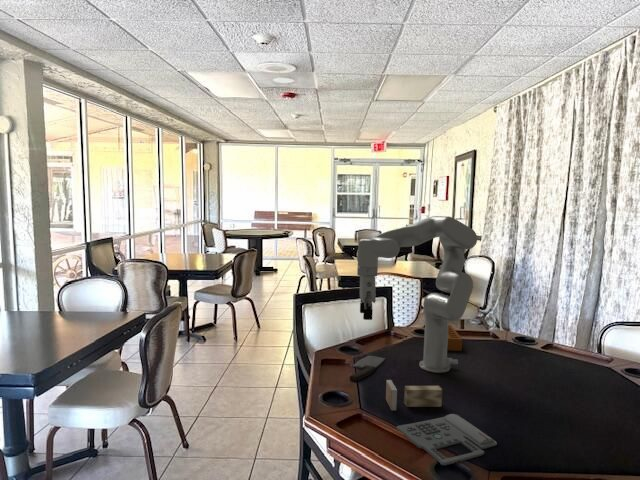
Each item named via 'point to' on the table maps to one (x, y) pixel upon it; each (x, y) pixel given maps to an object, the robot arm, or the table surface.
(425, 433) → the office telephone
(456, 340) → the brick
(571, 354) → the table surface
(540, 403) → the table surface
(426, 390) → the tan wooden block
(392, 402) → the tile
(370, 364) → the cleaver
